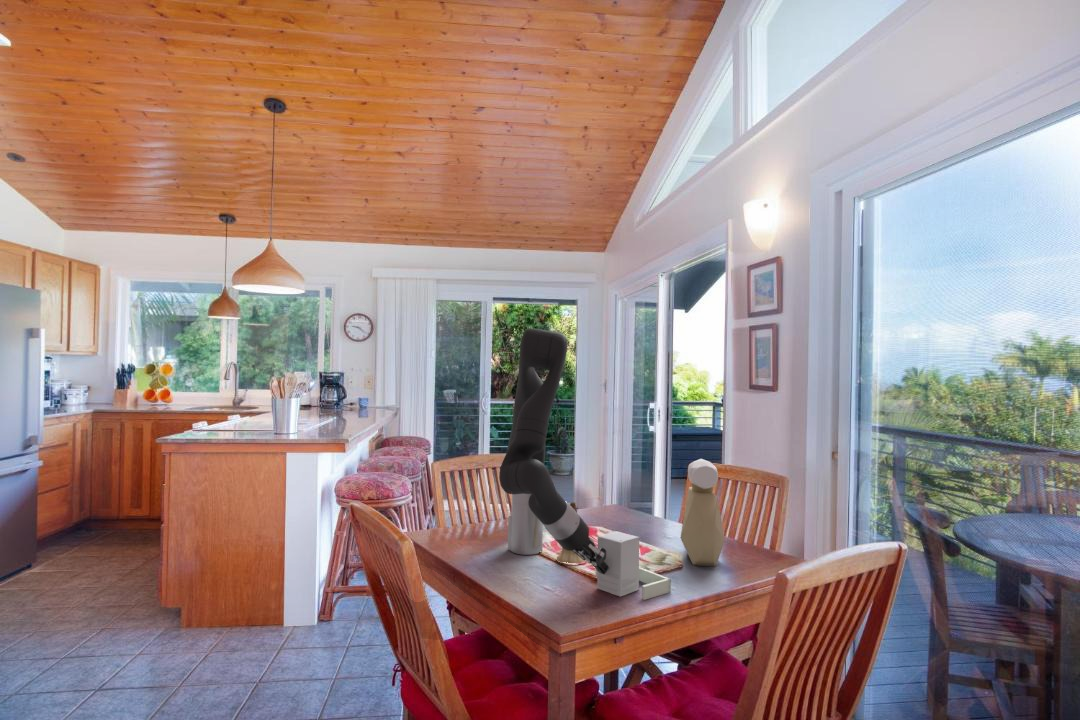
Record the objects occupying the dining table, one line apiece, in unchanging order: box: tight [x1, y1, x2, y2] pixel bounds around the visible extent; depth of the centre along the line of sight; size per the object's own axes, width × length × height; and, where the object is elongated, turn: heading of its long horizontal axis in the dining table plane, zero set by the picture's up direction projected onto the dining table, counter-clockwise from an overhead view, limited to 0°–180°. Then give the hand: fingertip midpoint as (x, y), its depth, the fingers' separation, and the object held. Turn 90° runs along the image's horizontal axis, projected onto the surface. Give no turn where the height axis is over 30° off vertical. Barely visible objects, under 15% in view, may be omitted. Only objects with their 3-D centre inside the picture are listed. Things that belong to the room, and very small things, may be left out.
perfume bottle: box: [680, 458, 726, 567], centre depth 163 cm, size 12×24×28 cm, turn 173°
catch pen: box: [595, 566, 672, 601], centre depth 142 cm, size 9×17×3 cm, turn 36°
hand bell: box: [556, 501, 585, 563], centre depth 160 cm, size 8×8×16 cm
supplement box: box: [596, 530, 640, 597], centre depth 139 cm, size 7×7×13 cm
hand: (604, 570), depth 137 cm, fingers closed
